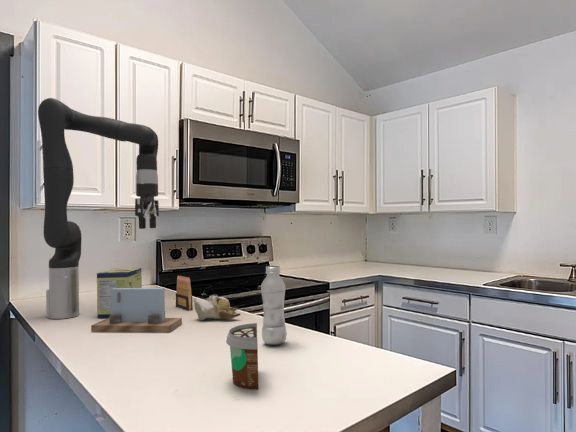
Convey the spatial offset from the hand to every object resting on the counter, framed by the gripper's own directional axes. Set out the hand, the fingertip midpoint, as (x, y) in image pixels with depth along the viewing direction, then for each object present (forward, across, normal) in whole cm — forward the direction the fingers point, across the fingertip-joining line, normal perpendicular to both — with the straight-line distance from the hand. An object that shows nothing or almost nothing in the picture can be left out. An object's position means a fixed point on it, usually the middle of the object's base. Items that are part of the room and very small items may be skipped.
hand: (147, 228), depth 149 cm
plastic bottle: (+30, +36, +50) cm, 69 cm away
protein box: (+30, +1, -10) cm, 32 cm away
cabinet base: (+30, +21, +6) cm, 37 cm away
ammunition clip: (+30, -8, +10) cm, 33 cm away
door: (+28, +21, +6) cm, 36 cm away
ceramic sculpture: (+30, +8, +27) cm, 42 cm away
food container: (+30, +61, +47) cm, 83 cm away
